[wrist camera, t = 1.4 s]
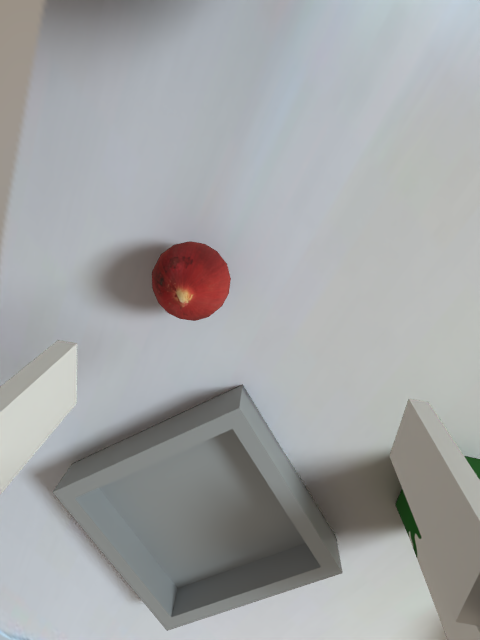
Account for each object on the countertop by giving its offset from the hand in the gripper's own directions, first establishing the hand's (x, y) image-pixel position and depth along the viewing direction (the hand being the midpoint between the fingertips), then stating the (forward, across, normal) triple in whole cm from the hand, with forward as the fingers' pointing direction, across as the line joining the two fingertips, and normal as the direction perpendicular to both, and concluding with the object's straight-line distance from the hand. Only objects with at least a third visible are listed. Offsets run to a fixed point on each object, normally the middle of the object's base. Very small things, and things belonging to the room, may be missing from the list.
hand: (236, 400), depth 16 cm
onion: (+20, -5, 0) cm, 20 cm away
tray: (+19, -2, -24) cm, 31 cm away
